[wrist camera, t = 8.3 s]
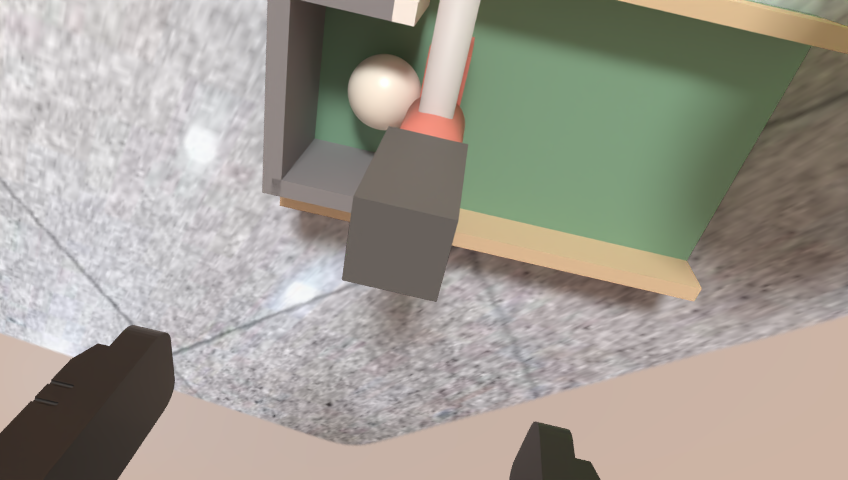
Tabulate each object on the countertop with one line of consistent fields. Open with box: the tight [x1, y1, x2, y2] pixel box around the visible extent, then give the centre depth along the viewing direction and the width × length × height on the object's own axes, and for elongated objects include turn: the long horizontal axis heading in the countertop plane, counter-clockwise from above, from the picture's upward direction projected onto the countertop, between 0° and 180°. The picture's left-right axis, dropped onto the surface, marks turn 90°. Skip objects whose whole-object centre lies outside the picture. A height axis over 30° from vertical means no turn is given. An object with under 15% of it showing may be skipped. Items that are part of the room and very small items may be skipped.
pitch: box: [262, 0, 848, 301], centre depth 28 cm, size 26×16×7 cm, turn 79°
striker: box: [342, 0, 481, 302], centre depth 23 cm, size 3×17×16 cm, turn 169°
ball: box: [348, 54, 421, 130], centre depth 29 cm, size 4×4×4 cm
